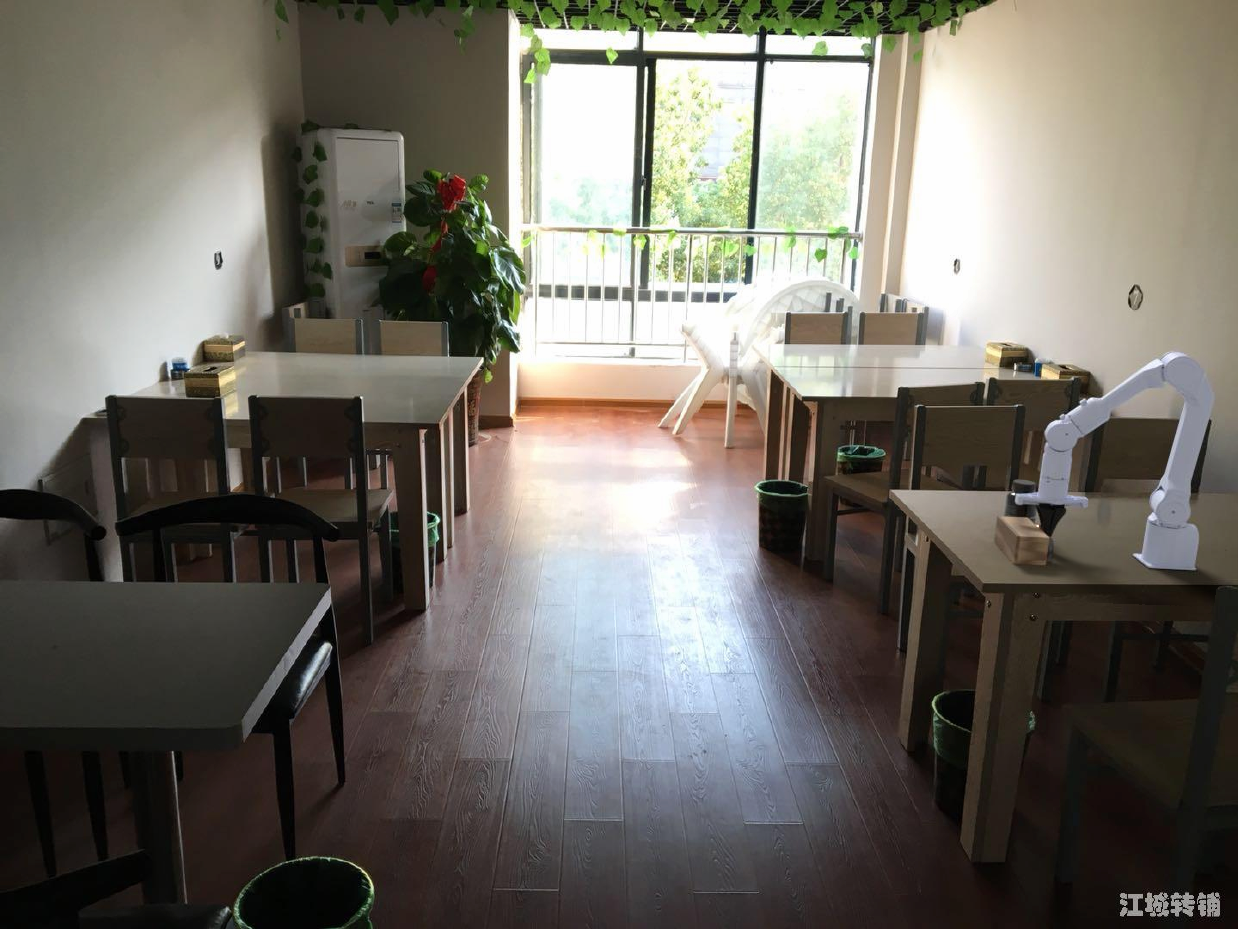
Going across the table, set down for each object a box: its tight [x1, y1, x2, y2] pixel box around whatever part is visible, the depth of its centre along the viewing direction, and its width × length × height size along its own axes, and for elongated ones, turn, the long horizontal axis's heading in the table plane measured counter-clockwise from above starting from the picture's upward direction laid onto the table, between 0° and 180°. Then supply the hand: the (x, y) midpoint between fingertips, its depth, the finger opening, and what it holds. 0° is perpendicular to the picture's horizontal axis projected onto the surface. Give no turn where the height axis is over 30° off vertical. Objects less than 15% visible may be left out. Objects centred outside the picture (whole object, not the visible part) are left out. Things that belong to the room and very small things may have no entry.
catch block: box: [993, 515, 1049, 566], centre depth 210 cm, size 6×14×6 cm, turn 175°
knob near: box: [1047, 536, 1054, 559], centre depth 206 cm, size 7×5×5 cm
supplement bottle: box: [1003, 479, 1038, 525], centre depth 224 cm, size 7×7×12 cm
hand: (1046, 537), depth 214 cm, fingers closed
